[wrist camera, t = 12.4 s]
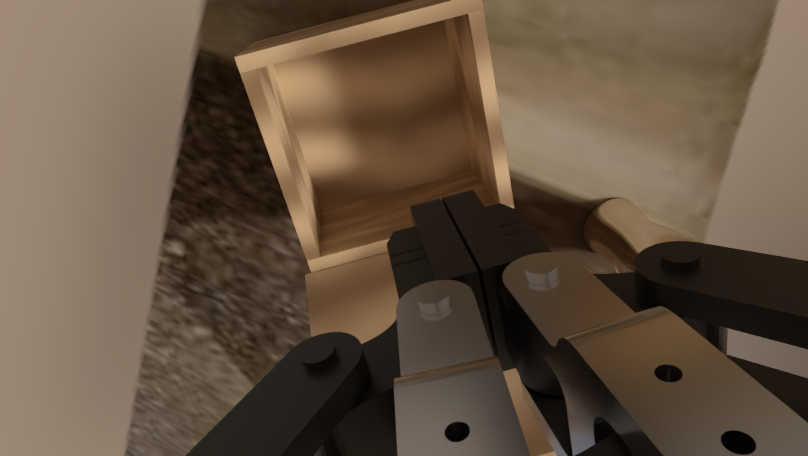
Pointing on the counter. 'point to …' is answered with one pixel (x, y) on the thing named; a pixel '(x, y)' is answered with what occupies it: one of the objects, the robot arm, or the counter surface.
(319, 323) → the wooden box lid
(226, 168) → the counter surface
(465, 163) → the wooden box
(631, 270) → the beer glass
